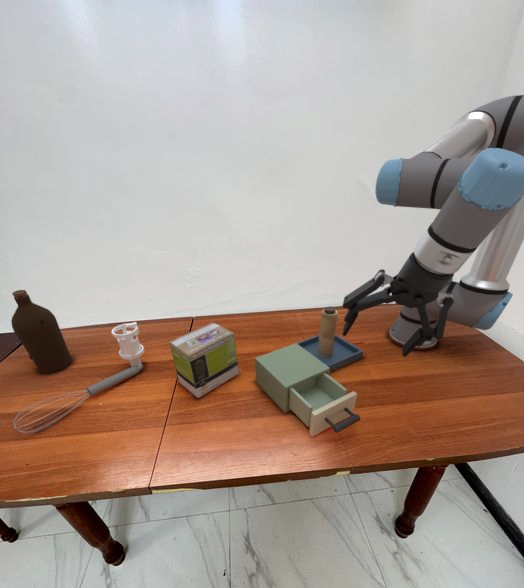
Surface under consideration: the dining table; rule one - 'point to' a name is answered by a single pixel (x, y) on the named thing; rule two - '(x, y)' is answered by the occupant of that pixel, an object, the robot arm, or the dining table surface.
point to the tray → (341, 352)
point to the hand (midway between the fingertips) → (374, 341)
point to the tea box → (205, 358)
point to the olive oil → (40, 334)
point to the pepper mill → (327, 331)
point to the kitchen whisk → (90, 390)
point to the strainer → (129, 344)
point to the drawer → (323, 404)
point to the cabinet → (286, 371)
